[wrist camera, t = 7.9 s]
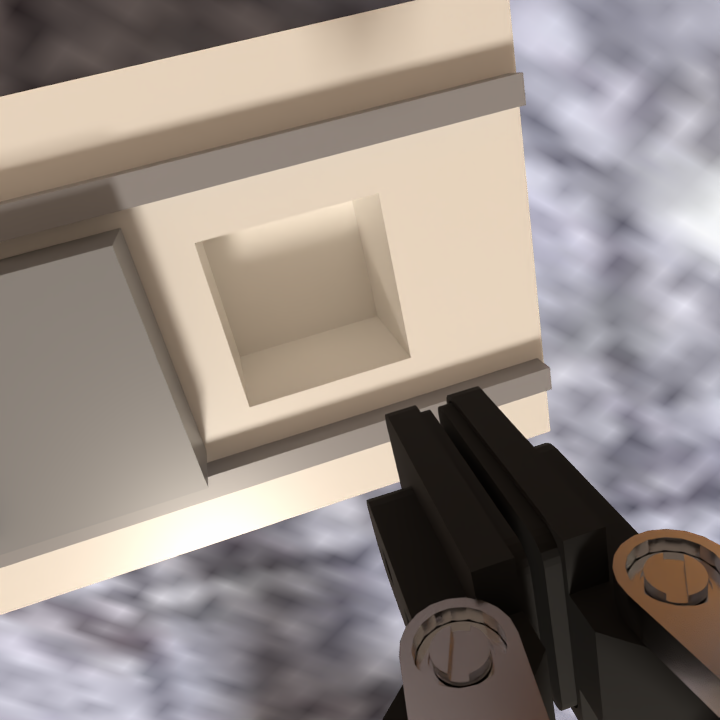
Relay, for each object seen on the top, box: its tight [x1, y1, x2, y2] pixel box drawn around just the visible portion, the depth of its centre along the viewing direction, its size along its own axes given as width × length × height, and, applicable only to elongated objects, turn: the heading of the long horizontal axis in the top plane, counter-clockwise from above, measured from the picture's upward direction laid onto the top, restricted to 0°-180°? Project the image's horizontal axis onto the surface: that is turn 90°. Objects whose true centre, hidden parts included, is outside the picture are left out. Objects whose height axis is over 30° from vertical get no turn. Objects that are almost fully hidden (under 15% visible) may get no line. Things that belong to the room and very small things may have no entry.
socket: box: [0, 0, 552, 615], centre depth 20 cm, size 20×14×6 cm
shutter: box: [0, 228, 208, 555], centre depth 16 cm, size 7×7×3 cm
